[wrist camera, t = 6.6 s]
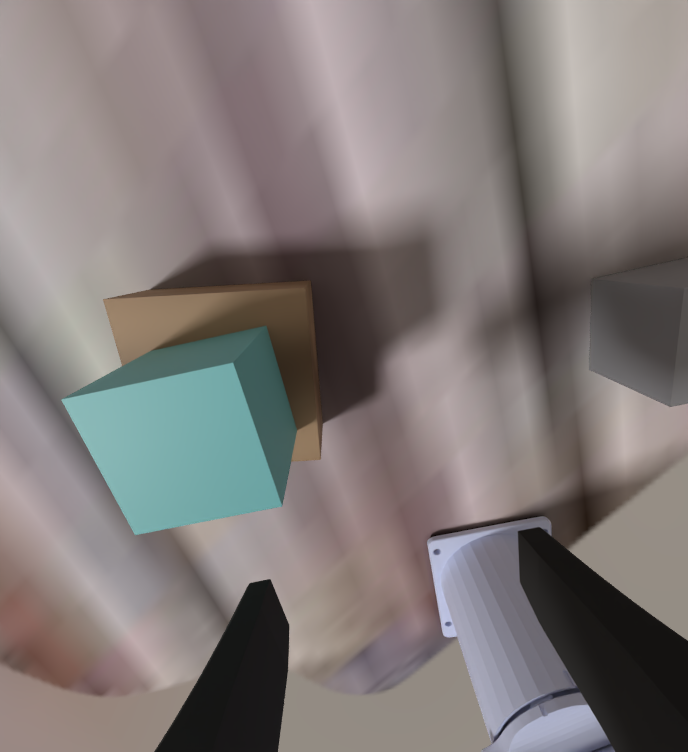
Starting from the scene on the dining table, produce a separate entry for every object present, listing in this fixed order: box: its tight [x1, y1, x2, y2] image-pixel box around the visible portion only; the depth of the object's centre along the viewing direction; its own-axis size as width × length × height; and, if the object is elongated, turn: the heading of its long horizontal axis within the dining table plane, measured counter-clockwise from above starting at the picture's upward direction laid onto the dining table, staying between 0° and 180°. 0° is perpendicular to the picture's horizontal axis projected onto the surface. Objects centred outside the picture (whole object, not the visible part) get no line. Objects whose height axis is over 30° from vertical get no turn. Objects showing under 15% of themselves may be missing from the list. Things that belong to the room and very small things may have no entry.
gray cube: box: [589, 257, 688, 407], centre depth 16 cm, size 5×5×5 cm
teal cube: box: [62, 326, 297, 535], centre depth 13 cm, size 5×5×5 cm
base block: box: [103, 281, 323, 461], centre depth 17 cm, size 8×8×4 cm
